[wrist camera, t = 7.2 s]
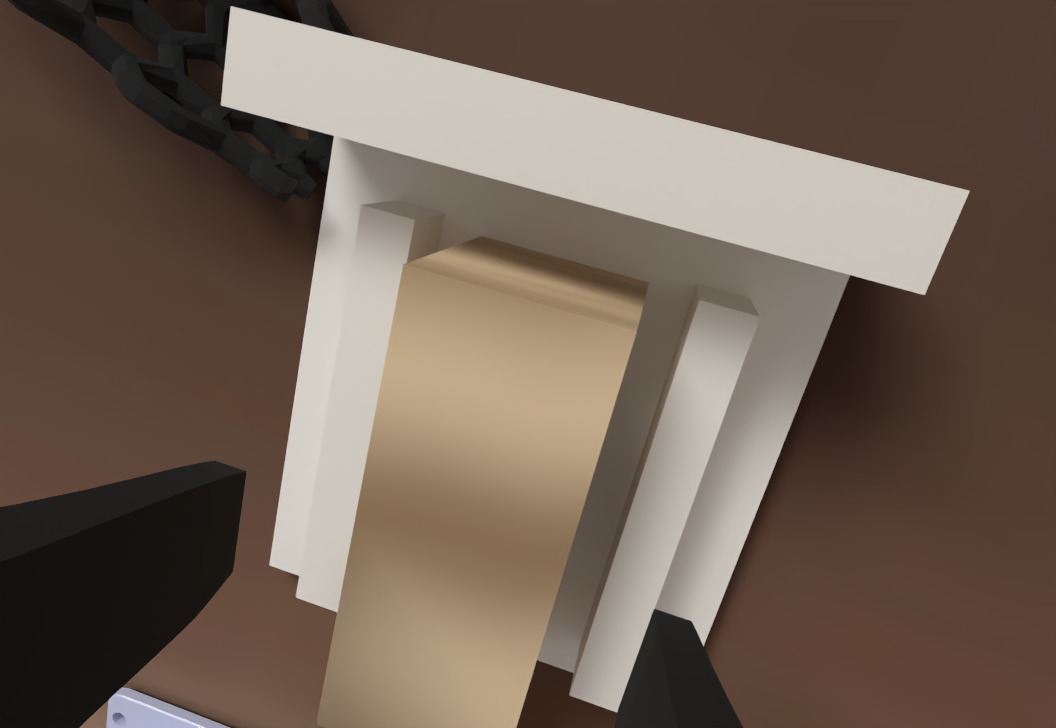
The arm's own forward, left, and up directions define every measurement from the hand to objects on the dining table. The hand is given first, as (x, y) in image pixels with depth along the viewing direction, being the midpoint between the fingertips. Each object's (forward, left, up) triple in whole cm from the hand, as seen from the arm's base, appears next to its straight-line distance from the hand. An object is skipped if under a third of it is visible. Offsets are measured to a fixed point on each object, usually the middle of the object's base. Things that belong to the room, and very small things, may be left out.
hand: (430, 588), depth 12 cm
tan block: (0, 0, -6) cm, 6 cm away
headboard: (+1, 0, -7) cm, 7 cm away
